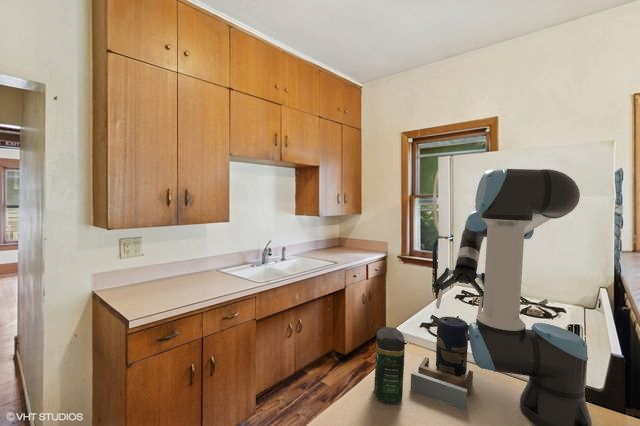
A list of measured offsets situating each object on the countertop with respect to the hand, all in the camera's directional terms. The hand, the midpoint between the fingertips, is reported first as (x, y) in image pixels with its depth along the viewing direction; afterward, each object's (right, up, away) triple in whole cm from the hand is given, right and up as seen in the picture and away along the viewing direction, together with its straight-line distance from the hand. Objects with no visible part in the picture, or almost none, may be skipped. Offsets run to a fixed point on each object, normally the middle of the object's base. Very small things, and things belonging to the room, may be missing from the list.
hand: (457, 310), depth 111 cm
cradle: (-9, -18, -12) cm, 24 cm away
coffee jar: (-29, -18, -20) cm, 39 cm away
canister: (-5, -18, -7) cm, 20 cm away
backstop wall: (-15, -18, -21) cm, 32 cm away
